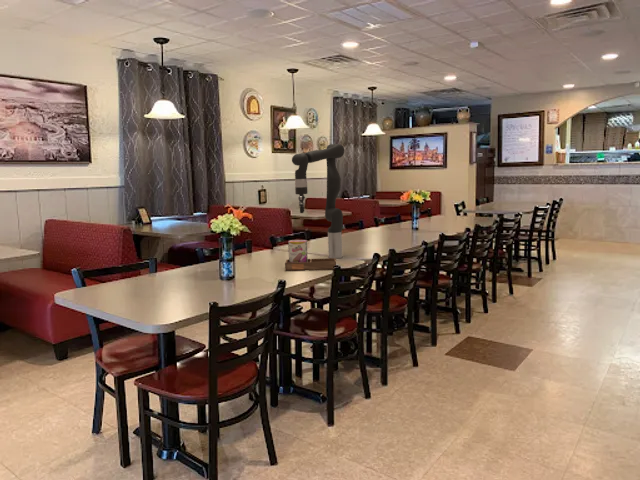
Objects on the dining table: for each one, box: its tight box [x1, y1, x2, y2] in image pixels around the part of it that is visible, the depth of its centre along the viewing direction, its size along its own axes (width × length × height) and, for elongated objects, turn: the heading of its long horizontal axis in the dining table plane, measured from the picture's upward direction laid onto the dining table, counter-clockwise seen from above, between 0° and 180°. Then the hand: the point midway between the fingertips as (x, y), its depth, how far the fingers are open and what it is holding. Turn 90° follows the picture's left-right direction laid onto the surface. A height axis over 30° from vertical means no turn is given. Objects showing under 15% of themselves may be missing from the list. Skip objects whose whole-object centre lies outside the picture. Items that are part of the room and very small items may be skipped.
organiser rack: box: [284, 257, 337, 272], centre depth 304 cm, size 11×30×5 cm, turn 89°
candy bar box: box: [287, 239, 309, 263], centre depth 303 cm, size 11×5×16 cm, turn 85°
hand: (302, 212), depth 314 cm, fingers open, 8 cm apart
